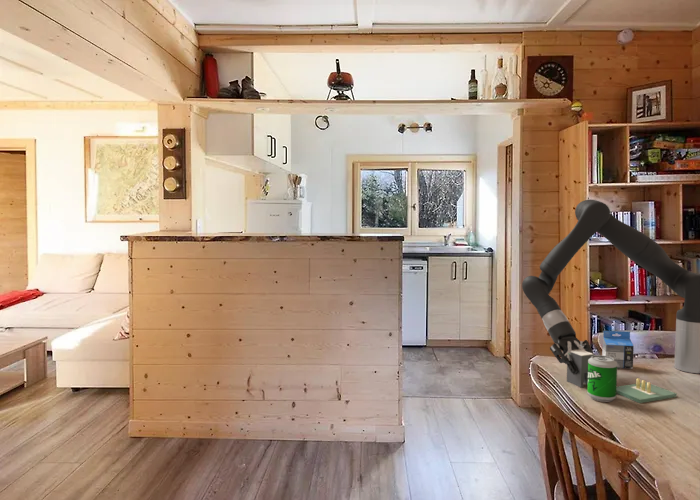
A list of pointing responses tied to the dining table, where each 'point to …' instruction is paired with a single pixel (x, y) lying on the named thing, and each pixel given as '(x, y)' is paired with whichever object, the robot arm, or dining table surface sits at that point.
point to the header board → (644, 392)
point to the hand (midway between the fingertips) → (584, 372)
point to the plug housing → (579, 368)
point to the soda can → (602, 378)
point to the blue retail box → (618, 348)
